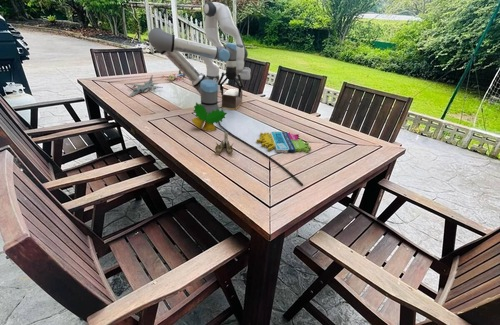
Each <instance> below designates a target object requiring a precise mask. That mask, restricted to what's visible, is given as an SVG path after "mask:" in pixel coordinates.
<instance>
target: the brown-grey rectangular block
mask: <svg viewBox="0 0 500 325" xmlns="http://www.w3.org/2000/svg"><path fill="white" fill-rule="evenodd" d="M238 90H239V89H235V88H228V89H227V90H225V91H224V92H223V94H222V95H221V108H222V109H226V110H231V111H232V110H233V111H236V110H237V109H238V108H239V107H240V106H241V105H242V104H243V91H242V92H240V97H238Z"/></svg>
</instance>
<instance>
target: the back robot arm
mask: <svg viewBox="0 0 500 325" xmlns="http://www.w3.org/2000/svg"><path fill="white" fill-rule="evenodd" d="M203 12H204V15H205V22H204V28H205V29H204V30H205V32H204V33H205V38H206V40H207V41H209V42H210V43H212V46H224V45H223V44H222V42H221V40H220V36H219V35H220V34H219V28H220V30H221V31H222V32H223V33H224V34H226V35H229V36H230V37H232V38H233V39H234V40H235V44H236V45H237V57H236V74H240V76H241V79H242V80H244V81H245V80H246V81H249V80H250V79H251V73H252V70H251V68H250V67H246V66H245V61H246V60H247V58H248V56H249V52H248V50H247V48H246V46H245V43H244V40H243V37H242V35H241V32H240V29H239V28H238V27H237V26H236V25H235V22H234V19H233V15H232V12H231V10H230V7H229V6H228V5H227V4H225V3H221V2H215V1H206V2H205V3H204V5H203ZM198 57H199V58H200V59H201V60H202V61H203V62H204V64H205V67H206V74H205V76H206V77H207V78H208V79H210V80H214V81H216V82H217V84H218V82H219V80H220V78H221V76H220V67H219V65H218V64H217V63H215V62H214V61H213V59H212V58H208V57H203V56H198ZM236 78H237V80H238V82H239V83H240V81H239V79H238V77H237V76H236ZM235 85H237V83H236V82H235ZM222 86H223V87H224V84H223V85H222ZM218 93H221V90H220V85H218Z"/></svg>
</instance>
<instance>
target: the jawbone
mask: <svg viewBox="0 0 500 325" xmlns="http://www.w3.org/2000/svg"><path fill="white" fill-rule="evenodd" d="M223 135H224V136H223V140H222V139H221V142H220V144H218V142H215V144H216V146H215V148H214V149H215V152H214V154H215V155H217V156H218V155H220V153H221V152H223V151H224V150H226V152H227V153H228V155H229V156H233V155H234V154H233V153H234V148H233V144H234V143H230V140H228V139H229V138H228V137H229V136H228V135H229V133H228V132H227V131H225V132H224V134H223Z"/></svg>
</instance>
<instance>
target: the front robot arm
mask: <svg viewBox="0 0 500 325" xmlns="http://www.w3.org/2000/svg"><path fill="white" fill-rule="evenodd" d="M147 39H148V42H149V43H150V45H151V47H152V48H154V49H155V50H156V51H157V52H158V53H159V54H160V55H161V56H165V57H167V59H169V61H170V62H171V63H172V64H173V65H174V66H175V67H176V68H177V69H178V71H179V70H180V71H181V73H182V74H184V75H185V76H184V77H186V78H187V79H188V80H189V81H190V82H191V86H192V87H193V88H194V89H195V90H196V91H197V92H198V93H199V94H200V104H201V106H204V109H206V112H208V113H211V112H212V110H214V111H216V110H217V109H219V111H221V110H220V108H219V102H218V99H219V98H218V97H219V92H218V85H220V90H221V91H220V95H221V96H222V94H223V93H224V84H225V83H226V82H227V80H231V81H234V83H235V84H236V83H237V84H236V85H237V87H238V89H237V90H238V97H240V92H242V93H243V88H245V84H244V82H243V79H241V76H240V74H236V57H237V45H236V44H237V43H236V42H235V43H234V42H227V43H226V44H225V45H223V46H213V45H210V44H205V43H201V42H198V41H193V40H189V39H184V38H180V37H177V36H176V35H175V34H173V33H169V32H166V31H165V30H164V29H162V28H160V27H155V28H151V30H149V33H148V36H147ZM183 53H184V54H189V55H194V56H198V57H199V56H203V57H208V58H212V60H217V61H220V62H225V72H224V71H222V72H221V76H220V78H219V82H218V84H217V82H216V81H214V80H210V79H208V78H207V77H206V74H204V73H203V72H200V71H199V70H198V69H197V68H196V67H195V66H194V65H193V64H192V63H191V62H190V60H188V58H187V57H186V56H185V55H184V54H183ZM224 76H225V78H224ZM236 76H237V77H238V79H237V78H236ZM239 81H240V83H239ZM222 85H223V86H222ZM208 113H207V115H208ZM217 125H219V127H220V128H221V129H223V130H224V131H225V132H228V135H231V136H232V137H233V138H235V139H237V140H238V141H240V142H242V143H243V144H245V145H247V146H248V147H250V148H251V149H254V150H255V151H257V152H258V153H260V154H262V155H263V156H264V157H266V158H268V159H269V160H270V161H272V162H274V163H275V164H276V165H277V166H279V167H280V168H281V169H283V170H284V171H285V172H286V173H287V174H289V175H290V176H291V177H292V178H293V179H294V180H295V181H297V183H298V184H300V186H304V184H303V182H302V181H301V180H299V178H297V177H296V176H295V175H294V174H293V173H292V172H291V171H289V170H288V168H286V167H284V166H283V165H282V164H281V163H279V162H278V161H277V160H275V159H274V158H272V157H271V156H270V155H268V154H267V153H264V152H263V151H261V149H258V148H257V147H255V146H253V145H251V144H249V143H248V142H246V141H245V140H243V139H241V138H240V137H238V136H236V135H235V134H233V133H232V132H231V131H229V130H228V129H226V128H225V127H224V126H223V125H221V121H219V122H218V123H217Z"/></svg>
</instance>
